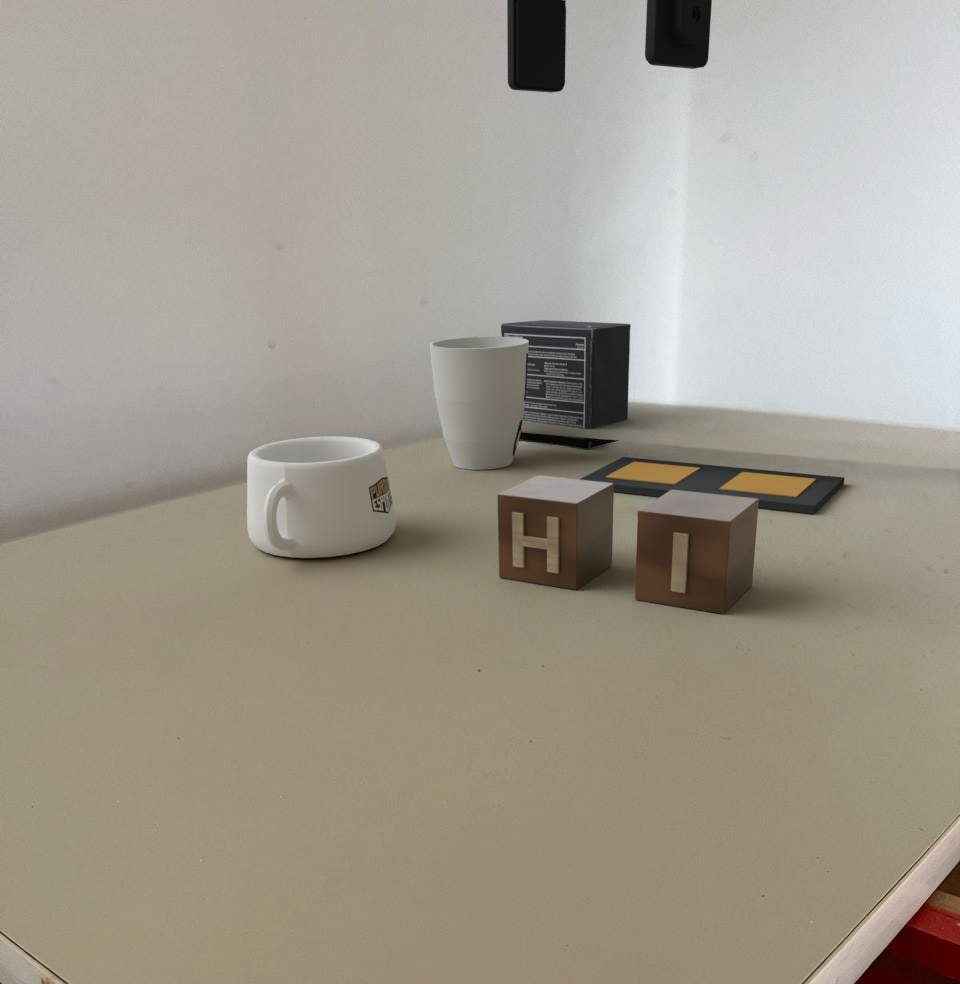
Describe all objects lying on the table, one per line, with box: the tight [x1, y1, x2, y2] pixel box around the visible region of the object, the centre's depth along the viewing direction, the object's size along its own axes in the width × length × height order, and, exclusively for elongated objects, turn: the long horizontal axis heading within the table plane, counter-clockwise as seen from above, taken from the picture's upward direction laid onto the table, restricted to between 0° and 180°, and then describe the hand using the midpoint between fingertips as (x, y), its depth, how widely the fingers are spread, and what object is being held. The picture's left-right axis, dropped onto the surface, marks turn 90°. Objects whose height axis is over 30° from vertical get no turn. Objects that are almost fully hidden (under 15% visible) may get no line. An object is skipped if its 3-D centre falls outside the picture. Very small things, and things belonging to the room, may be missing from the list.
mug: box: [246, 435, 396, 559], centre depth 66 cm, size 12×10×6 cm
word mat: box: [578, 456, 845, 515], centre depth 78 cm, size 18×9×1 cm, turn 60°
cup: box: [429, 336, 529, 471], centre depth 86 cm, size 8×8×10 cm
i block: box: [634, 490, 759, 615], centre depth 56 cm, size 5×5×5 cm
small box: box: [500, 319, 631, 450], centre depth 94 cm, size 11×6×10 cm, turn 48°
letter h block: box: [497, 475, 615, 591], centre depth 60 cm, size 5×5×5 cm
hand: (601, 79), depth 48 cm, fingers open, 9 cm apart
